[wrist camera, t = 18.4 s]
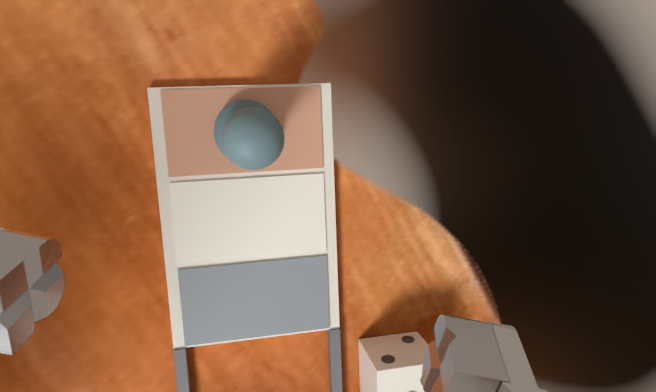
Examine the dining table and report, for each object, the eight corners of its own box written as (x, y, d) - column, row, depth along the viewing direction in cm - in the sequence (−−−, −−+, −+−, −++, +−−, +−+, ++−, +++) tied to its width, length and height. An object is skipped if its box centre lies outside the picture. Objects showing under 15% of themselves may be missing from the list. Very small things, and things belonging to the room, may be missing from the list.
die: (360, 395, 47) (378, 435, 41) (358, 337, 46) (377, 370, 40) (418, 386, 48) (444, 424, 42) (418, 329, 47) (445, 360, 41)
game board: (183, 435, 44) (182, 442, 43) (148, 88, 38) (146, 87, 37) (340, 409, 47) (343, 416, 46) (328, 83, 41) (331, 82, 40)
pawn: (216, 164, 39) (211, 188, 27) (211, 100, 39) (204, 95, 26) (278, 160, 40) (301, 182, 28) (275, 99, 40) (298, 92, 27)
